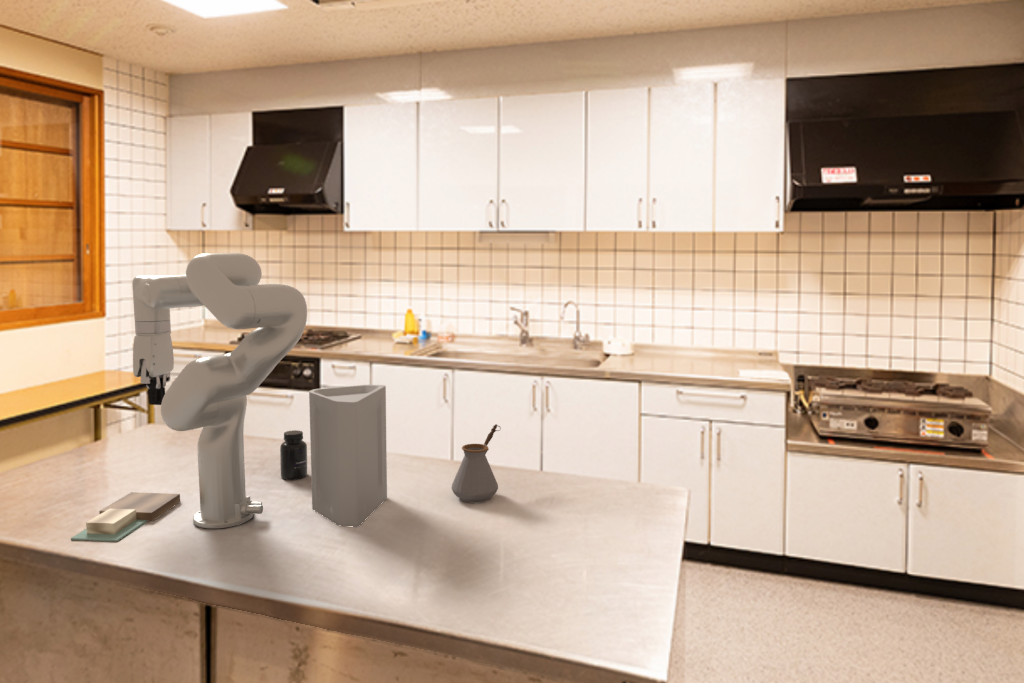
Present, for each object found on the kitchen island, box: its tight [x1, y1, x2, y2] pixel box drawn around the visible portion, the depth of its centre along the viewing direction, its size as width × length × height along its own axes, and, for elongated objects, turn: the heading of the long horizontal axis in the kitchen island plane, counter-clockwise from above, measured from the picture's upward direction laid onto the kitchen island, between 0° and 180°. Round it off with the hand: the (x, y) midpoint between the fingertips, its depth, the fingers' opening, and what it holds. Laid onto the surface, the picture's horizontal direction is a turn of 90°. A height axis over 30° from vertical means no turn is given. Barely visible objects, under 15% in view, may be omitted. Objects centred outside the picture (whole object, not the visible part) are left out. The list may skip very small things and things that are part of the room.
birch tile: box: [85, 509, 137, 534], centre depth 153 cm, size 6×8×2 cm
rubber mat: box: [70, 520, 148, 542], centre depth 152 cm, size 10×11×1 cm
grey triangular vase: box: [308, 384, 388, 528], centre depth 164 cm, size 19×15×28 cm
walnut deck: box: [98, 491, 181, 522], centre depth 163 cm, size 12×12×2 cm
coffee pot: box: [451, 423, 502, 504], centre depth 178 cm, size 21×12×15 cm, turn 161°
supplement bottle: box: [279, 429, 308, 481], centre depth 188 cm, size 7×7×12 cm
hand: (157, 403), depth 169 cm, fingers closed
